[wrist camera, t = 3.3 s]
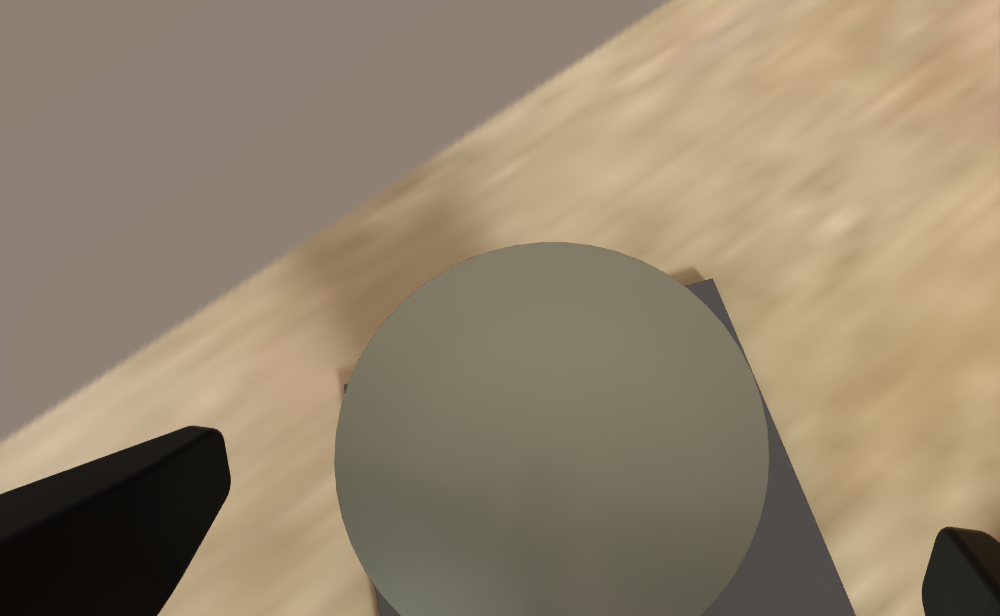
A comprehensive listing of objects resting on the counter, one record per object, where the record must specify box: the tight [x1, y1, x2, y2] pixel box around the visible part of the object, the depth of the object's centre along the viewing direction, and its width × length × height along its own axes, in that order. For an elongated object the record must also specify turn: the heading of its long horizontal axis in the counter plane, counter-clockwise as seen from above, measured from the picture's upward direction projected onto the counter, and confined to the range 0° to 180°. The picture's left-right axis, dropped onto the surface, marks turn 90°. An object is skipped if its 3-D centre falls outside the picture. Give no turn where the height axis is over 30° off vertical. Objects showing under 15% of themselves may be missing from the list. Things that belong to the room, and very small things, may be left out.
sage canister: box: [334, 242, 769, 616], centre depth 12 cm, size 5×5×9 cm
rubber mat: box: [344, 278, 856, 616], centre depth 17 cm, size 10×10×1 cm
